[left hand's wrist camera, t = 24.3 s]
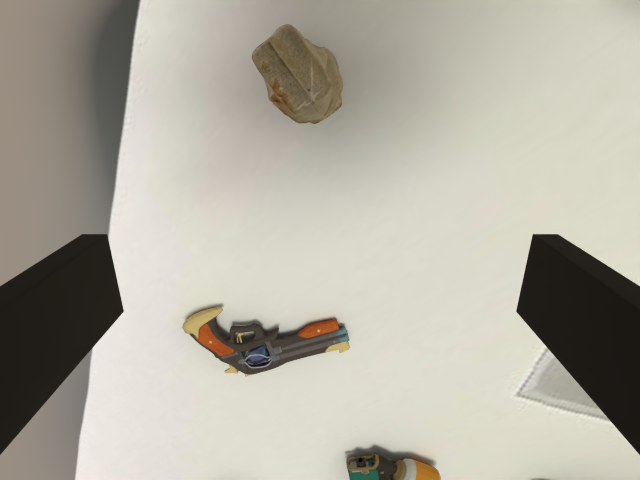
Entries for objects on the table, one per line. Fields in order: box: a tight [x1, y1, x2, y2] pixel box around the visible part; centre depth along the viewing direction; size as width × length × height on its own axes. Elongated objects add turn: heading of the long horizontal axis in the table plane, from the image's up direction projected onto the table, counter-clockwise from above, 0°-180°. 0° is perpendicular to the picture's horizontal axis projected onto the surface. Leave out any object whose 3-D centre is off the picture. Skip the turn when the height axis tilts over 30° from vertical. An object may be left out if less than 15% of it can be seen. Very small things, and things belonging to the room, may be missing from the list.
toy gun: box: [182, 307, 350, 376], centre depth 48 cm, size 3×19×10 cm
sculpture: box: [252, 24, 343, 124], centre depth 32 cm, size 6×7×15 cm
